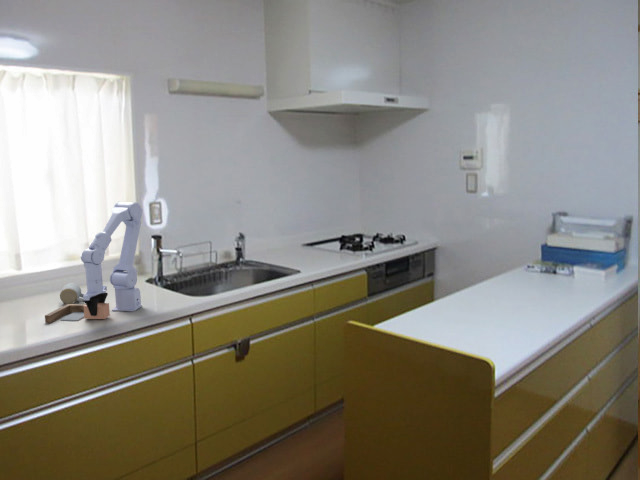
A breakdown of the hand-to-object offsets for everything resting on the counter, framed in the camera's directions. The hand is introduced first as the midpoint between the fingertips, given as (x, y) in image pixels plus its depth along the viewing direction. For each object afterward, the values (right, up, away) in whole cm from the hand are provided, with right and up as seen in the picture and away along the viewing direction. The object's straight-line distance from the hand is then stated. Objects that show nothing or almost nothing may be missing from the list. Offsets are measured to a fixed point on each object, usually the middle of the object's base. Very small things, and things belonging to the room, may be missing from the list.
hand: (97, 313), depth 215 cm
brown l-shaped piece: (-11, -2, +2) cm, 11 cm away
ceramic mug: (-20, +2, +24) cm, 31 cm away
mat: (-9, -2, +3) cm, 10 cm away
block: (0, -1, 0) cm, 1 cm away
